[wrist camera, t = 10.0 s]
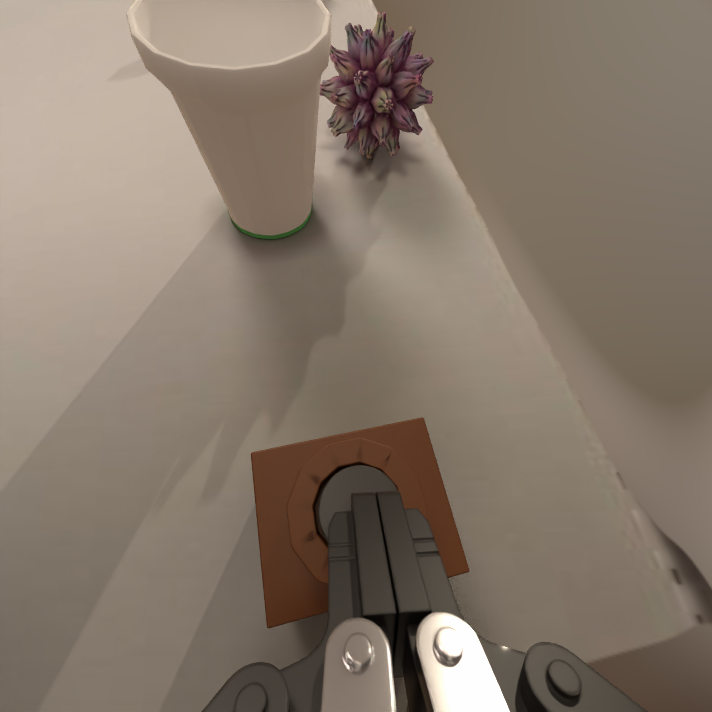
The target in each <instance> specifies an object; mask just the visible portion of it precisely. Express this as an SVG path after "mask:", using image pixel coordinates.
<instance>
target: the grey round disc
mask: <svg viewBox="0 0 712 712" xmlns="http://www.w3.org/2000/svg"><path fill="white" fill-rule="evenodd" d="M383 491H398V490H397V488H396V486H395V485H394V483H393V482H392V481H391V479H390V478H389V477H388V476H387V475H385V474H384V473H383V472H381V471H379V470H378V469H375V468H373V467H369V466H363V465H358V466H351V467H348V468H345V469H343V470H341V471H340V472H338V473H337V474H335V475H334V476H333V477H332V478H331V479H330V480H329V481H328V483H327V484H326V486H325V488H324V489H323V492H322V494H321V497H320V501H319V507H318V515H319V522H320V526H321V529H322V532H323V534H324V536H325V538H326V539H327V540H328V526H329V524H330V521H331V519H332V517H333V515H334V513H335V512H344V511H351V493H361V492H375V493H376V492H383Z"/></svg>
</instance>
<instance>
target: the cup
mask: <svg viewBox="0 0 712 712" xmlns="http://www.w3.org/2000/svg"><path fill="white" fill-rule="evenodd" d="M127 19H128V23H129V28H130V32H131V36H132V39H133V41H134V43H135V45H136V47H137V50H138V52H139V54H140V56H141V58H142V61H143V63H144V65H145V67H146V68H147V69H148V70H149V71H150V72H151V73H152V74H153V75H154V76H155V77H156V78H157V79H158V80H159V81H161V82H162V83H163V84H164V85H165V86H166V87H167V88H168V89H169V90H170V91H171V93H172V95H173V97H174V99H175V101H176V103H177V105H178V107H179V109H180V112H181V114H182V116H183V118H184V120H185V122H186V124H187V126H188V128H189V130H190V132H191V134H192V136H193V138H194V140H195V142H196V144H197V146H198V148H199V151H200V153H201V155H202V157H203V159H204V161H205V163H206V165H207V167H208V169H209V171H210V173H211V175H212V177H213V179H214V181H215V183H216V185H217V187H218V189H219V192H220V194H221V196H222V198H223V200H224V202H225V204H226V206H227V209H228V212H229V215H230V217H231V220H232V222H233V223H234V224H235V226H236V227H237V228H238V229H239V230H240V231H241V232H243V233H245V234H248V235H250V236H253V237H256V238H262V239H278V238H282V237H286V236H289V235H291V234H293V233H295V232H297V231H298V230H300V229H302V228H303V227H304V225H305V224H306V223H307V221H308V220H309V218H310V215H311V210H312V193H313V179H314V165H315V151H316V137H317V123H318V109H319V95H320V81H321V75H322V72H323V71H324V70H325V69H326V67H327V66H328V61H329V54H330V47H331V15H330V13H329V12H328V10H327V9H326V7H325V6H324V4H323V3H322V1H321V0H135V1H134V3H133V4H132V6H131V7H130V9H129V10H128V12H127Z"/></svg>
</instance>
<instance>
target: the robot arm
mask: <svg viewBox="0 0 712 712" xmlns="http://www.w3.org/2000/svg"><path fill="white" fill-rule="evenodd" d="M395 677H404V681H405V687H406V693H407V699H408V702H407V710H406V712H647V711H646V710H645V709H643V708H642V707H641V706H640V705H638V704H637V703H636V702H635V701H633V700H632V699H631V698H629V697H628V696H627V695H626V694H624V693H623V692H622V691H621V690H619V689H618V688H617V687H615V686H614V685H613V684H612V683H610V682H609V681H608V680H607V679H605V678H604V677H603V676H601V675H600V674H599V673H598V672H596V671H595V670H594V669H592V668H591V667H590V666H589V665H587V664H586V663H585V662H584V661H582V660H581V659H580V658H578V657H577V656H576V655H575V654H573V653H572V652H570V651H569V650H567V649H566V648H564V647H562V646H560V645H557V644H554V643H550V642H540V643H536V644H534V645H533V646H531V647H530V648H529V650H528V651H527V653H523V652H520V651H517V650H514V649H510V648H507V647H504V646H500V645H497V644H494V643H492V642H489V641H488V640H486V639H484V638H482V637H481V636H480V635H478V634H477V633H476V632H475V631H474V630H472V628H471V627H470V626H469V625H468V624H467V623H466V621H465V620H464V618H463V617H462V615H461V613H460V611H459V608H458V606H457V603H456V600H455V597H454V594H453V591H452V588H451V585H450V582H449V579H448V577H447V574H446V571H445V568H444V565H443V562H442V559H441V556H440V555H439V550H438V547H437V544H436V542H435V541H434V536H433V533H432V530H431V527H430V524H429V521H428V520H427V519H426V518H425V517H424V515H423V514H422V513H421V512H420V511H419V510H418V508H411V509H404V505H403V502H402V498H401V494H400V492H399V491H383V492H376V493H375V492H361V493H351V511H344V512H335V513H334V515H333V517H332V519H331V521H330V524H329V526H328V624H327V629H326V632H325V634H324V637H323V638H322V640H321V642H320V643H319V645H318V646H317V647H316V649H315V650H314V651H313V652H312V653H310V654H309V655H308V656H307V657H305V658H303V659H302V660H300V661H298V662H296V663H294V664H292V665H290V666H288V667H286V668H284V669H282V670H279V669H278V668H276V667H275V666H273V665H271V664H269V663H264V662H257V663H252V664H249V665H247V666H245V667H243V668H241V669H240V670H238V671H237V672H236V673H234V674H233V675H232V676H231V677H230V678H229V679H228V681H227V682H226V683H225V684H224V685H223V687H222V688H221V689H220V690H219V691H218V693H217V694H216V695H215V696H214V698H213V699H212V700H211V701H210V702H209V704H208V705H207V706H206V707H205V708H204V710H203V711H202V712H396V702H395V691H394V679H393V678H395Z"/></svg>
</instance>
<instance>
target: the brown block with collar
mask: <svg viewBox="0 0 712 712" xmlns="http://www.w3.org/2000/svg"><path fill="white" fill-rule="evenodd" d="M251 461H252V472H253V482H254V493H255V504H256V514H257V525H258V536H259V547H260V557H261V568H262V579H263V589H264V600H265V611H266V622H267V628H272V627H275V626H279V625H282V624H286V623H289V622H293V621H297V620H300V619H304V618H307V617H311V616H314V615H318V614H321V613H325V612H328V540H327V539H326V538H325V536H324V534H323V532H322V529H321V526H320V522H319V515H318V507H319V501H320V497H321V494H322V492H323V489H324V488H325V486H326V484H327V483H328V481H329V480H330V479H331V478H332V477H333V476H334V475H335V474H337V473H338V472H340V471H341V470H343V469H345V468H348V467H351V466H358V465H363V466H369V467H373V468H375V469H378V470H379V471H381V472H383V473H384V474H385V475H387V476H388V477H389V478H390V479H391V481H392V482H393V483H394V485H395V486H396V488H397V490H398V491H399V492H400V494H401V498H402V502H403V505H404V509H411V508H418V510H419V511H420V512H421V513H422V514H423V515H424V517H425V518H426V519H427V520H428V521H429V524H430V527H431V530H432V533H433V536H434V541H435V542H436V544H437V547H438V550H439V555H440V556H441V559H442V562H443V565H444V568H445V571H446V574H447V577H448V578H449V577H453V576H456V575H460V574H463V573H467V572H469V568H468V564H467V561H466V558H465V554H464V551H463V548H462V544H461V541H460V538H459V534H458V531H457V528H456V524H455V521H454V518H453V514H452V511H451V508H450V504H449V501H448V498H447V494H446V491H445V488H444V484H443V481H442V478H441V474H440V471H439V468H438V464H437V461H436V458H435V454H434V451H433V448H432V444H431V441H430V438H429V434H428V431H427V428H426V424H425V421H424V418H422V417H421V418H417V419H412V420H407V421H402V422H397V423H392V424H387V425H383V426H378V427H373V428H368V429H363V430H358V431H353V432H349V433H344V434H339V435H334V436H329V437H324V438H319V439H315V440H310V441H305V442H300V443H295V444H290V445H285V446H281V447H276V448H271V449H266V450H261V451H256V452H252V453H251Z"/></svg>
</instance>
